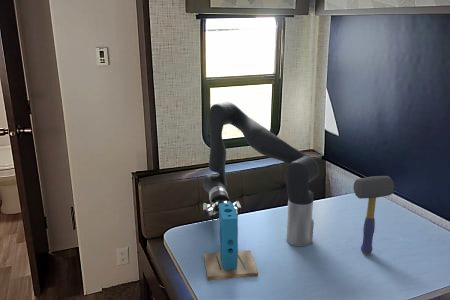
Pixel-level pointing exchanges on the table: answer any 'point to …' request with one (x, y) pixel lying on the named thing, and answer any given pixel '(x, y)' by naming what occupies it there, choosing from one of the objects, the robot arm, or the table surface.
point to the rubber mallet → (371, 203)
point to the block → (228, 235)
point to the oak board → (243, 270)
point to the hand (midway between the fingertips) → (224, 217)
